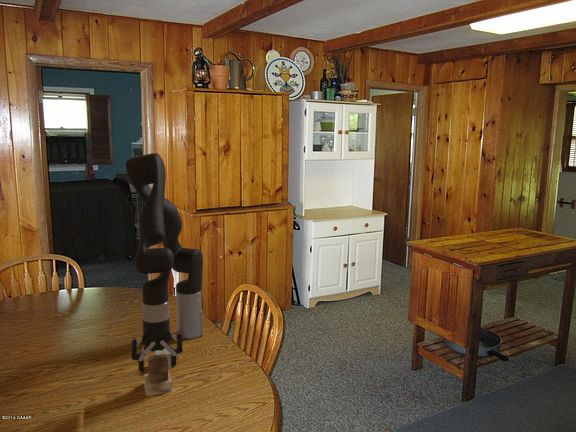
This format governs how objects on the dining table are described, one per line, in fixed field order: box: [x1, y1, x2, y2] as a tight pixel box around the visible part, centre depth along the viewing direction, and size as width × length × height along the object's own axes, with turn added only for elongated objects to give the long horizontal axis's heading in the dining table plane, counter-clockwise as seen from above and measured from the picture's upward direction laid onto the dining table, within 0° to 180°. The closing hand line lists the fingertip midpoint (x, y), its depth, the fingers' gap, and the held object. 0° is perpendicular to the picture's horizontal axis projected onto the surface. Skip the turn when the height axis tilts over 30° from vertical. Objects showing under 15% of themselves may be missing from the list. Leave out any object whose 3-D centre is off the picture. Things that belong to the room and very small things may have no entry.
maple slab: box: [143, 370, 173, 396], centre depth 142 cm, size 7×7×3 cm
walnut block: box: [147, 354, 169, 383], centre depth 142 cm, size 5×5×6 cm
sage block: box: [154, 349, 172, 370], centre depth 155 cm, size 4×4×6 cm
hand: (157, 369), depth 142 cm, fingers open, 8 cm apart
